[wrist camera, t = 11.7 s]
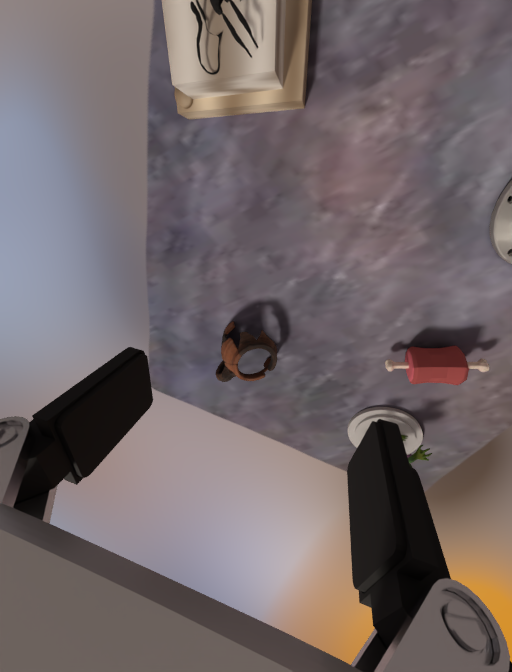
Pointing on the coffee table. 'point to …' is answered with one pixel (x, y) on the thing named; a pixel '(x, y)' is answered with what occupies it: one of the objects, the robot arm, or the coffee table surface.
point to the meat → (437, 365)
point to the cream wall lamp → (238, 57)
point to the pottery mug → (233, 354)
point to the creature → (216, 4)
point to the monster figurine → (404, 420)
